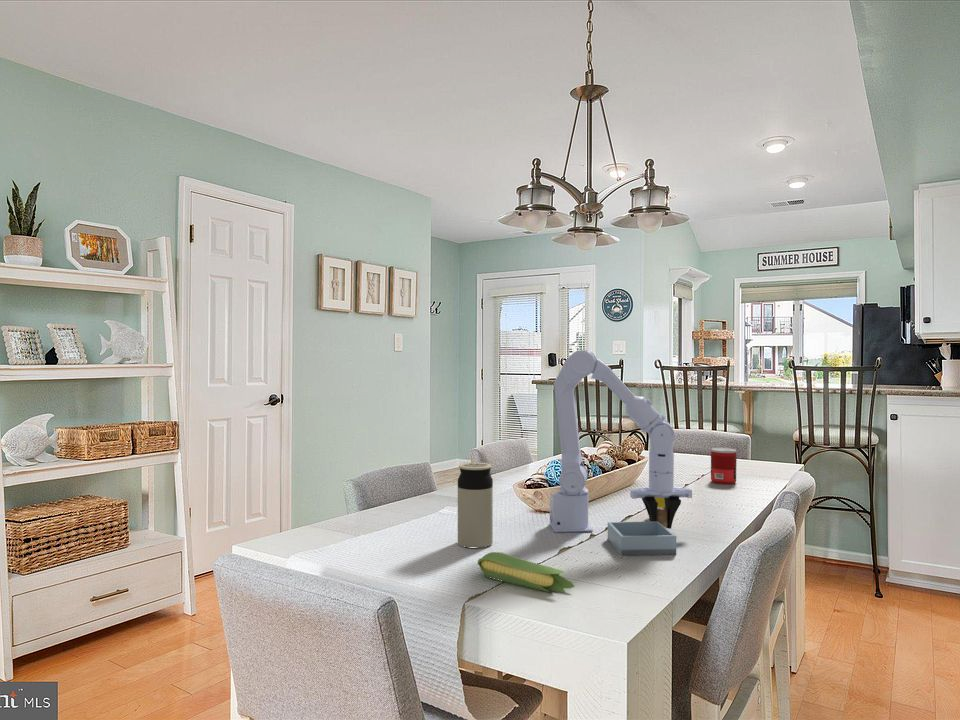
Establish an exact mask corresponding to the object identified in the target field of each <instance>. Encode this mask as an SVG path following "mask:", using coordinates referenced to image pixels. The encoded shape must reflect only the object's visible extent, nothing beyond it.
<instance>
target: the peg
mask: <svg viewBox="0 0 960 720" xmlns="http://www.w3.org/2000/svg"><path fill="white" fill-rule="evenodd" d="M656 519H657V521H658V522H660V523H661V524H662V525H663V526H665V527H666V528H667V519H668V509H667V508H663V507H657V514H656ZM667 529H668V528H667Z"/></svg>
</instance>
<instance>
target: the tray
mask: <svg viewBox="0 0 960 720" xmlns="http://www.w3.org/2000/svg"><path fill="white" fill-rule="evenodd" d="M607 540H608V542H609V543H610V544H611V545H612V546H613V548H614V549H615V550H616V551H617V552H618V554H619V555H620V556H654V555H655V556H658V555H660V556H662V555H663V556H664V555H665V556H667V555H668V556H669V555H677V535H676V534H674V533H673V532H672V531H671V529H668V528H666V527H665V526H663V525H662V524H661V523H660V522H658V521H654V522H650V521H608V522H607Z"/></svg>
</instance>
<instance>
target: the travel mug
mask: <svg viewBox="0 0 960 720" xmlns="http://www.w3.org/2000/svg"><path fill="white" fill-rule="evenodd" d="M492 467H493V466H492V464H491V463H487V462H475V461H474V462H464V463H460V464H459V465H458V468H459V470H460V471H459V472H460V474H459V476H458V478H457V544H458V545H459V546H461V547H463V546H465V547H464V548H466V547H484V548H487V547H486V546H488V547H489V546H491V545H492V544H493V542H494V541H493V537H494V536H493V534H494V533H493V531H494V530H493V528H494V527H493V526H494V524H493V523H494V522H493V521H494V520H493V516H494V513H493V511H494V510H493V507H494V506H493V504H494V502H493V501H494V500H493V499H494V497H493V496H494V495H493V493H494V491H493V490H494V489H493V487H494V485H493V484H494V483H493V481H494V479H493V477H492V475H491V468H492Z"/></svg>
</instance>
